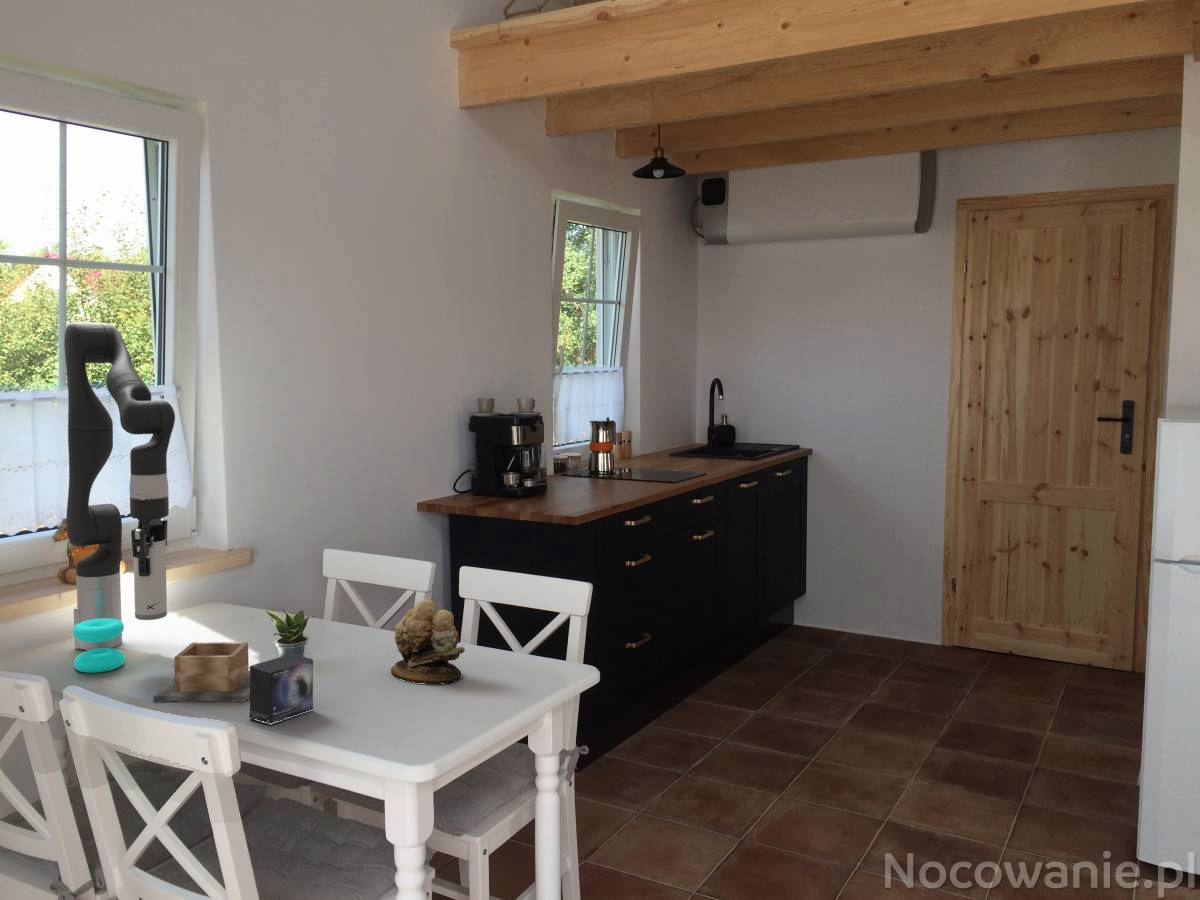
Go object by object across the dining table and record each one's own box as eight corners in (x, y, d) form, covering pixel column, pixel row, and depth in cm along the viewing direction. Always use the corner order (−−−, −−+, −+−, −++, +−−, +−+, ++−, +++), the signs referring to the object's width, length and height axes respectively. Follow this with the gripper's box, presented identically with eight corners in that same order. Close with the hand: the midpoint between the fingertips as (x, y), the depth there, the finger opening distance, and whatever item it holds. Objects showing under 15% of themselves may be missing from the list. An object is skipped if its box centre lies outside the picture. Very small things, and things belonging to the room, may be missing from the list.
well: (153, 702, 200) (152, 661, 200) (181, 676, 216) (181, 638, 216) (246, 701, 201) (245, 660, 201) (267, 676, 217) (267, 638, 217)
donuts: (86, 616, 226) (131, 617, 226) (88, 660, 227) (133, 660, 227) (63, 628, 216) (110, 628, 216) (65, 674, 217) (112, 674, 217)
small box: (271, 727, 188) (270, 671, 187) (248, 720, 191) (247, 665, 190) (315, 710, 197) (314, 657, 196) (292, 704, 200) (291, 652, 199)
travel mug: (156, 621, 214) (154, 527, 212) (128, 619, 215) (126, 526, 213) (174, 614, 220) (172, 523, 218) (147, 611, 221) (145, 521, 220)
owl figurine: (478, 675, 220) (478, 598, 219) (445, 691, 210) (445, 610, 208) (411, 662, 229) (411, 588, 227) (377, 676, 218) (376, 599, 217)
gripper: (144, 489, 222) (145, 565, 224) (116, 499, 208) (118, 579, 209) (179, 490, 223) (180, 565, 224) (154, 500, 208) (156, 580, 210)
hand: (150, 572), depth 217 cm, fingers closed on travel mug, 6 cm apart
